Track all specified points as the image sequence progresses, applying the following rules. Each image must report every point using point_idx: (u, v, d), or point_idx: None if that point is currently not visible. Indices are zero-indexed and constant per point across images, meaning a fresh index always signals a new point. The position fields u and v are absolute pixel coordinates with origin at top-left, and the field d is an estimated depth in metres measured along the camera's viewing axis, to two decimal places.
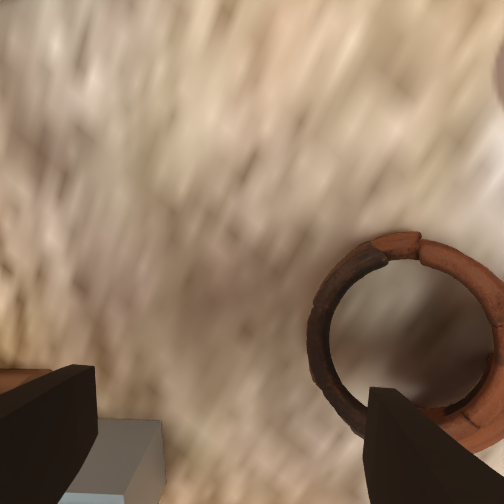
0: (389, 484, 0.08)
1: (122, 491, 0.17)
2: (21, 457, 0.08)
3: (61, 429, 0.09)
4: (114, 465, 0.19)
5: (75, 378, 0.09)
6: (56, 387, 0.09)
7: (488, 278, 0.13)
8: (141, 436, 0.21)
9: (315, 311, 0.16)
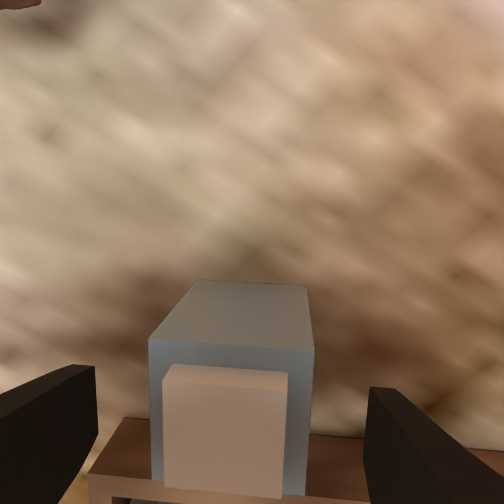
0: (389, 484, 0.08)
1: (150, 339, 0.10)
2: (21, 457, 0.08)
3: (61, 429, 0.09)
4: None
5: (75, 378, 0.09)
6: (56, 387, 0.09)
7: None
8: None
9: None
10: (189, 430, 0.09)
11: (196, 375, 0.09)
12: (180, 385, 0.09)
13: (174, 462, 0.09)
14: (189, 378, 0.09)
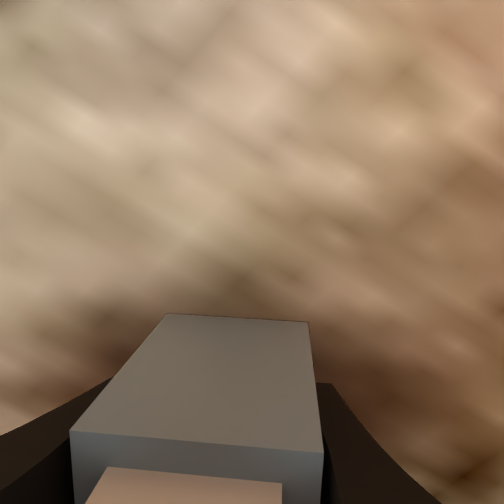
0: None
1: (76, 427, 0.07)
2: None
3: None
4: None
5: None
6: None
7: None
8: None
9: None
10: None
11: (139, 493, 0.06)
12: None
13: None
14: (127, 500, 0.06)
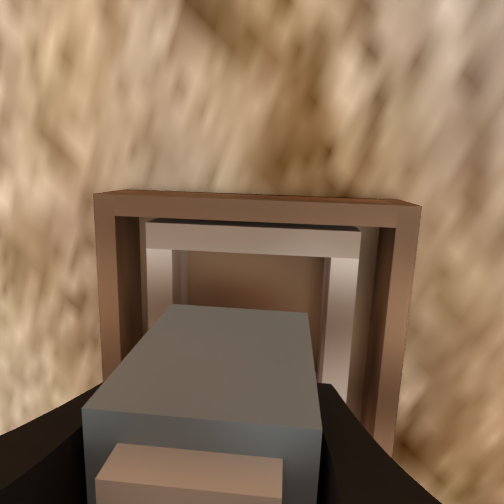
0: None
1: (87, 406, 0.07)
2: None
3: None
4: None
5: None
6: None
7: None
8: None
9: None
10: None
11: (147, 467, 0.06)
12: (122, 485, 0.06)
13: None
14: (136, 473, 0.06)
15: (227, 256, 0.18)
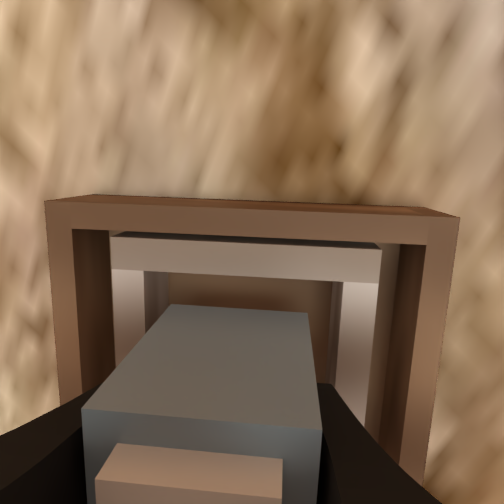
0: None
1: (87, 407, 0.07)
2: None
3: None
4: None
5: None
6: None
7: None
8: None
9: None
10: None
11: (148, 467, 0.06)
12: (122, 485, 0.06)
13: None
14: (136, 473, 0.06)
15: (215, 275, 0.15)
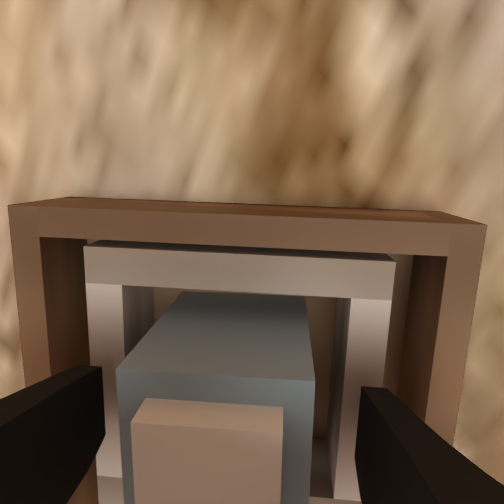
0: (378, 482, 0.08)
1: (120, 368, 0.08)
2: (31, 458, 0.08)
3: (70, 430, 0.09)
4: None
5: (83, 379, 0.09)
6: (65, 388, 0.09)
7: None
8: None
9: None
10: (165, 481, 0.08)
11: (172, 414, 0.08)
12: (152, 427, 0.07)
13: None
14: (164, 418, 0.07)
15: None
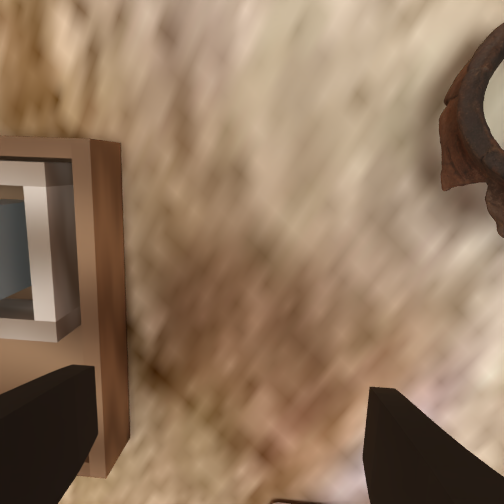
0: (389, 484, 0.08)
1: None
2: (21, 457, 0.08)
3: (61, 429, 0.09)
4: None
5: (75, 378, 0.09)
6: (56, 387, 0.09)
7: None
8: None
9: (469, 77, 0.13)
10: None
11: None
12: None
13: None
14: None
15: None
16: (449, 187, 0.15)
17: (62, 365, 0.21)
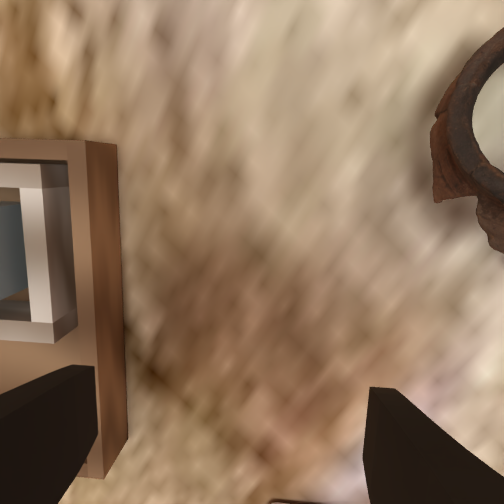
0: (389, 484, 0.08)
1: None
2: (21, 457, 0.08)
3: (61, 429, 0.09)
4: None
5: (75, 378, 0.09)
6: (56, 387, 0.09)
7: None
8: None
9: (457, 93, 0.14)
10: None
11: None
12: None
13: None
14: None
15: None
16: (441, 200, 0.15)
17: (60, 366, 0.21)
